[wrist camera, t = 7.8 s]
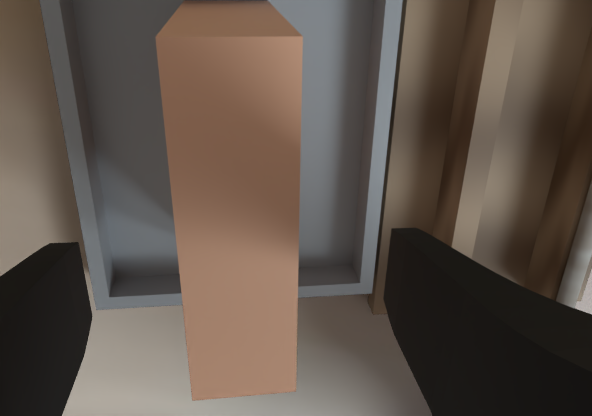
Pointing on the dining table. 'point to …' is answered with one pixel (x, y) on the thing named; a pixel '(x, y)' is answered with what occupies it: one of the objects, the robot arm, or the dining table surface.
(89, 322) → the robot arm
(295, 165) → the tan flat block
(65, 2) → the tray
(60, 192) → the dining table surface
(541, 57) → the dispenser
